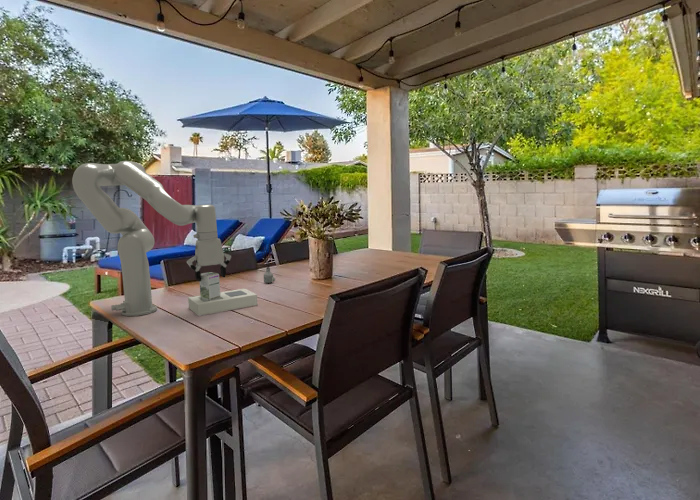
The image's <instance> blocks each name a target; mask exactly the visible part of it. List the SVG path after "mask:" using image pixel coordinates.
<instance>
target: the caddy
mask: <svg viewBox="0 0 700 500" xmlns="http://www.w3.org/2000/svg"><path fill="white" fill-rule="evenodd" d="M220 296H221V299H218V300H212V301H206V302H203V301H202V300H201V295H195V296H189V297H187V299H188V300H187V301H188V309H189V310H190V311H192V312H193V313H194V314H195V315H196V316H198V317H200V316H205V315H206V316H207V315H211V314H217V313H222V312H223V313H224V312H227V311H233V310H239V309H244V308H249V307H250V308H251V307H255V306H258V294H257V293H255V292H253V291H250V290H249V289H247V288H239V289H234V290H226V291H220Z"/></svg>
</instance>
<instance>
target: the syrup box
mask: <svg viewBox="0 0 700 500" xmlns="http://www.w3.org/2000/svg"><path fill="white" fill-rule="evenodd" d="M200 274H201V281H198V282H199V292H200V295H201V300H202V301H203V302H206V301H212V300H218V299H221V296H220V292H221V286H220V285H221V284H220V274H219V273H217V272H211V271H210V272H209V271H208V272H203V273H200ZM200 295H199V296H200Z"/></svg>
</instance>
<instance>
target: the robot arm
mask: <svg viewBox="0 0 700 500" xmlns="http://www.w3.org/2000/svg"><path fill="white" fill-rule="evenodd" d="M71 181H72V188H73V191H74V193H75V194H76V196H77V197H78V198H79V200H80V201H81V202H82V203H83V204H84V205H85V207H86V208H87V209H88V210H89V212H91V214H92V216H93V217H94V218H95V219H96V220H97V222H98V223H99V224H100V225H101V227H103V229H104V230H105V231H106V232H108V233H110V234H115V235H116V234H121V235H122V236H121V237H120V238H119V240H118V241H117V253H118V257H119V260H120V267H121V274H122V285H123V295H124V296H123V298H124V300H123V301H122V302H121V303H119V304H112V305H111V306H110V307H111V311H120V314H121V315H122V316H125V317H136V316H137V317H138V316H145V315H149V314H153V313H154V312H156V311H157V310H158V306H157V305H155V304H153V298H152V297H153V296H152V295H153V294H152V287H151V286H152V284H151V283H152V282H151V274H150V264H149V259H148V256H147V253H148V252H150V251H151V250H153V248H154V246H155V237H154V235H153V233H152V232H151V230H150V229H149V228H148V227H147V226H146V225H145V223H144V222H143V221H142V220H141V219H140V217H139V216H138V215H137V214H136V213H135V211H133V210H131V209H130V208H126V207H119V206H118V205H117V203H115V202H114V200H113V199H112V198H111V197H110V195H109V194H108V193H107V192H105V191H104V190H103V188H102V187H113V186H125V187H126V188H128V189H130V190H131V191H132V192H134V194H136V195H138V196H139V197H141V198H142V199H144V200H145V201H146V202H147V204H149V205H150V206H151V207H152V208H153V209H154V210H155V211H156V212H157V213H159V215H161V216H162V217H164V218H165V219H167V221H169V222H171V223H173V224H174V225H176V226H181V227H182V226H187V225H190V224H193V223H195V225H196V226H195V227H196V233H195V234H193V238H194V239H197V240H196V241H195V245H194V246H195V247H194V248H195V252H194V253H195V255H194V256H192V257H191V258H189V259H188V260H186V264H187V265H188V266H189V268H191V269H192V270H193V271H194V275H195V277H194V278H195V280H196V281H197V282H199V281H201V274H202V273H201V271H200V269H201V268H202V267H208V266H217V265H220V267H219V268H220V276H221V277H222V278H226V275H227V269H226V268H227V267H228V265H229V263H230V261H231V259H232V255H231V254H228V253H226V252H224V250H223V245H222V240H221V239H220V238H218V229H217V228H218V226H217V225H218V224H217V215H216V214H217V213H216V207H215V205H213V204H197V205H196V204H195V205H194V204H193V205H192V204H181V203H180V202H178V201H177V200H175V199H174V198H173V197H172V196H170V195H169V193H167V192H166V191H165V188H164V186H163V184H162V183H161V182H160V181H158V180H157V179H156V178H154V177H153V176H151V175H150V174H149V173H148V172H147V171H146V169H145V167H144V166H143V165H142V164H141V163H138V162H135V161H130V160H122V161H119V162H118V163H110V164H109V163H108V164H107V163H104V164H103V163H96V162H87V163H83V164H80V165H79V166H78V167H77V168H76V169H75V170H74V172H73V175H72V180H71ZM225 258H226V259H225ZM194 261H195V263H196V264H195V265H194V264H193V262H194Z"/></svg>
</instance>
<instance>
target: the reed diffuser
mask: <svg viewBox="0 0 700 500" xmlns="http://www.w3.org/2000/svg"><path fill="white" fill-rule="evenodd" d="M268 244H269V247H268V251H267V250H265V249H267V247H266V246H267V245H266V244H264V246H261V245H259V249H260V251H261V253H262V256H263V257H262V258H263V260H264V262H265V265H266V268H265V270H266V271H265V273H263V282H264V283H273V282H274V281H276V277H275V276H274V274H273V272H271V268H270V263H268V262H269V260H271V259H270V253H271V252H270V251H271V250H270V249H271V244H270V243H268ZM261 247H262V248H263V249H262V248H261ZM263 250H265V251H263ZM263 253H264V254H263ZM266 255H268V257H267V256H266Z"/></svg>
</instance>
